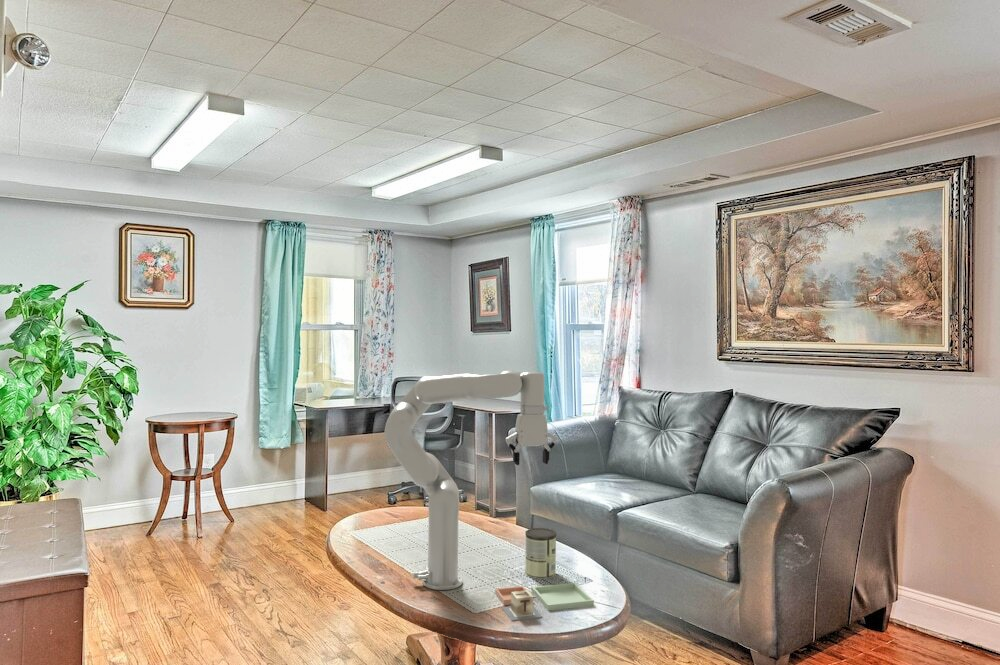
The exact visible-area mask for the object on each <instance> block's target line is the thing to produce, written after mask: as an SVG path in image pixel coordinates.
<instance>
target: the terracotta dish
mask: <svg viewBox="0 0 1000 665" xmlns="http://www.w3.org/2000/svg"><path fill="white" fill-rule="evenodd" d="M525 590H527V589H526V588H525V586H523V585H521V586H520V585H519V586H511V587H510V586H508V587H501V588H500V587H499V588H495V589H494V594H495V596H496V598H497V599H498V600H499V601H500V603H502V605H503V606H511V592H515V591H525Z"/></svg>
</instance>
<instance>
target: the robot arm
mask: <svg viewBox="0 0 1000 665" xmlns="http://www.w3.org/2000/svg"><path fill="white" fill-rule="evenodd" d="M519 393H520V409H519V410H520V412H519V413H518V414H517V415H516V416H517V417H516V420H515V421H516V423H515V428H514V429H515V430H514V432H513V433H511V434H510V435H509V436H507V437H505V442H506V444H507V446H508V448H509V449H510V450H512V461H513V462H514V465H516V466H520V459H521V457H520V455H521V454H520V452H519V451H520V449H522V448H523V447H542V448H543V450H542V463H544V464H545V465H549V464H548V463H549V461H550V452H551V450H552V449H553V448H554V446H555V444H556V442H557V440H558V437H557V436H556V435H553V434H551V433H549V431H548V430H549V429H548V423H547V422H548V420H547V416H546V414H545V412H547V411H549V407H548V406H545V375H544V373H543V372H539V371H525V372H522V371H514V370H503V371H502V372H500V373H497V374H496V373H495V374H483V375H481V374H471V373H459V374H450V375H441V376H440V375H439V376H433V375H432V376H431V375H424V376H423V377H421V378H420V379H418V380H417V381H416V383H415V384H414V385H413V387H412V388H411V389H410V390H409V391H408V392H406V394H405V396H404V397H403V398H402V399H401V400H400V401H399V402H397V404H396V405H395V407H394V408H393V409H392V410H391V412H390V413H389V415H388V418H387V420H386V423H385V424H384V425H385V426H384V440H385V442H386V445H387V446H388V448H389V450H390V451H391V453H392V455H394V457H395V459H396V460H397V462H399V464H400V465H401V467H402V469H403V470H404V471H405V472H406V474H407V475H408V476H409V478H410V480H411V481H412V482H413V484H414V485H416V486H417V487H420V488H422V489H423V490H424V491H425V493H426V494H427V495H428V527H427V528H428V531H427V534H428V541H427V542H428V545H427V547H428V548H427V550H428V551H427V566H426V567H425V569H423V570H422V571H413V572H412V578H413V579H417V580H418V581H422V585H423V586H424V587H425V588H427V589H430V590H436V591H448V590H454V589H457V588H459V587H460V586H462V584H463V577H461V576H460V575H458V574H459V570H458V569H459V518H460V517H459V515H460V492H459V487H458V485H457V483H456V482H455V480H454V478H452V476H451V475H450V474H449V472H448V471H447V470H446V468H445V467H444V465H443V464H442V463H441V462H440V461H439V459H438V458H437V457H436V456H435V455H434V454H432V453H430V452H427V451H426V450H425V449H424V448H423V447H422V445H421V444H420V443H419V441H418V440H417V439H416V438H415V436H414V435H413V428H414V427H415V425H416V423H417V421H418V420H419V419H420V418H421V417H422V415H424V414H425V412H426V411H427V410H429V408H430V407H431V406H432V405H434V404H444V403H450V402H451V403H453V402H454V403H455V402H463V401H476V400H477V401H478V400H491V399H500V398H501V399H503V398H510V397H514V396H516V395H518V394H519ZM549 438H550V442H549V443H548V441H549ZM513 440H514V443H515V444H514V445H513V443H512V441H513Z"/></svg>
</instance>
